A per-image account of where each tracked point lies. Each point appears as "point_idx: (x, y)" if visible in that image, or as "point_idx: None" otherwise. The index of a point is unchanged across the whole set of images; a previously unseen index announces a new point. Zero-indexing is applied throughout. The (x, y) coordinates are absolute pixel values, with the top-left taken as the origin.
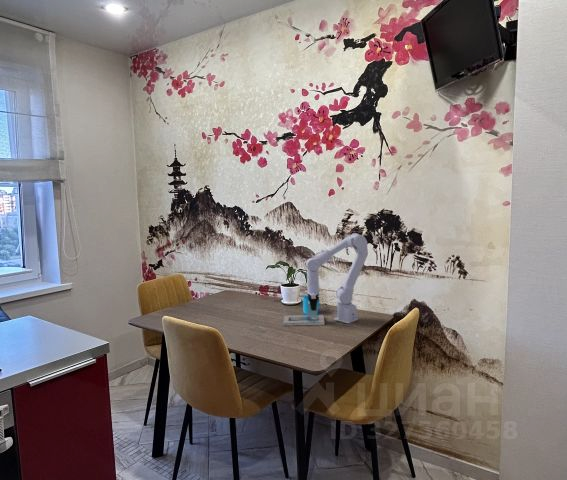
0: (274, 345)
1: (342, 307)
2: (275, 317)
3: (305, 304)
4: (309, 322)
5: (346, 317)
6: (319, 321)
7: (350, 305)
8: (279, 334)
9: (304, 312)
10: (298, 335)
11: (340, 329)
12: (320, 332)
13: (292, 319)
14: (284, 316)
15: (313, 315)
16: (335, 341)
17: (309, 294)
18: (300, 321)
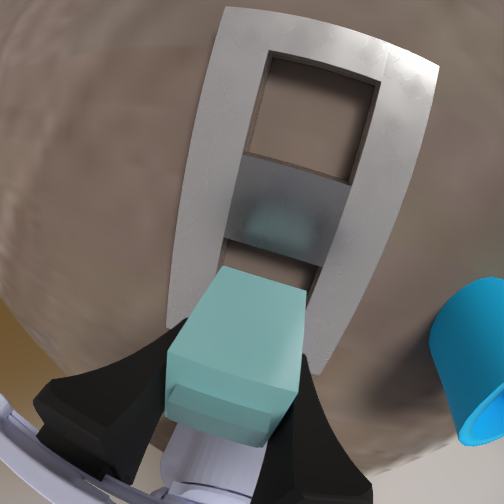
0: (8, 24)
1: (185, 468)
2: (467, 24)
3: (501, 329)
4: (176, 230)
5: (187, 428)
6: (181, 305)
7: (169, 486)
8: (86, 9)
9: (481, 282)
10: (48, 117)
11: (109, 347)
12: (71, 246)
13: (367, 118)
14: (417, 56)
15: (344, 318)
16: (10, 266)
17: (32, 460)
18: (215, 159)
